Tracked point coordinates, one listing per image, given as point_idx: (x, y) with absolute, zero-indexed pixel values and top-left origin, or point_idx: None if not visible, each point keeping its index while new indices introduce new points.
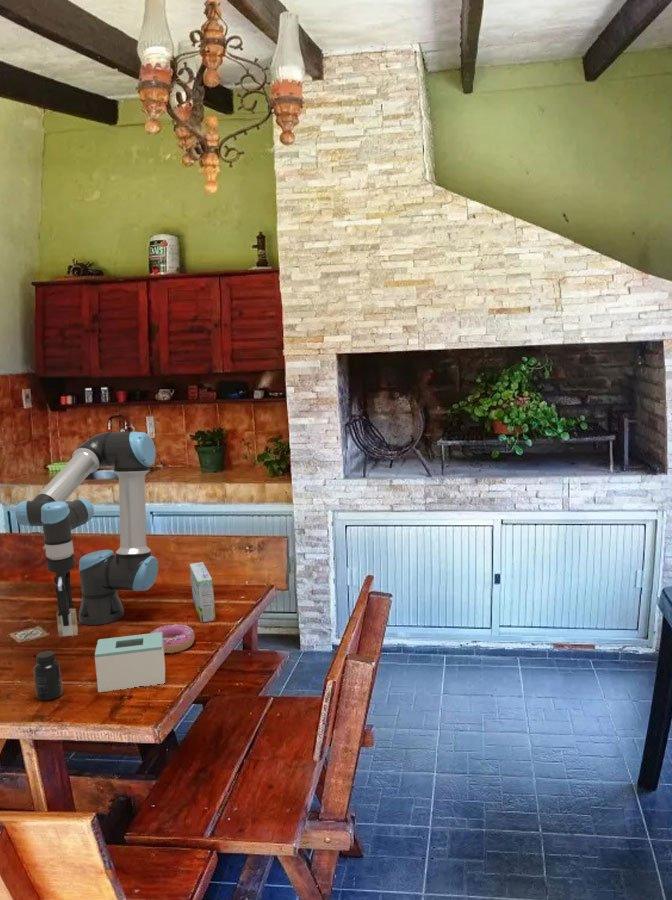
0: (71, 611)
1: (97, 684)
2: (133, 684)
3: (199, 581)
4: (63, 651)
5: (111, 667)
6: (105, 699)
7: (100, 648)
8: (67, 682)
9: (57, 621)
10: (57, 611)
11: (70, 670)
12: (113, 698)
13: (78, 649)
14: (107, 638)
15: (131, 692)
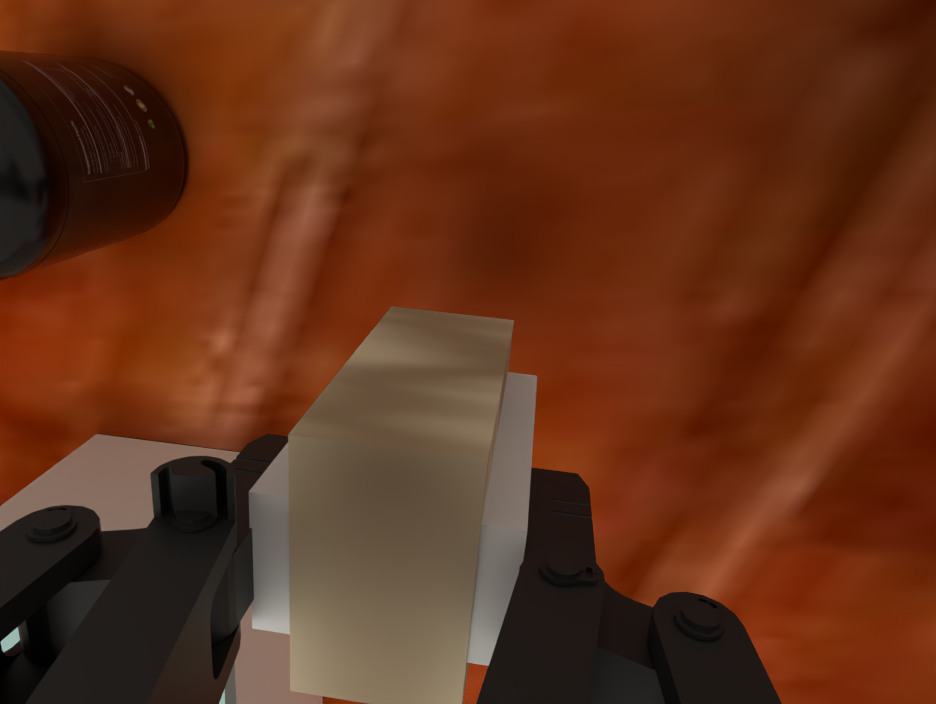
0: (338, 657)
1: (64, 458)
2: None
3: None
4: (907, 220)
5: None
6: (7, 463)
7: (12, 637)
8: (288, 261)
9: (334, 382)
10: (433, 454)
11: (485, 279)
12: None
13: (877, 335)
14: (223, 700)
15: None
